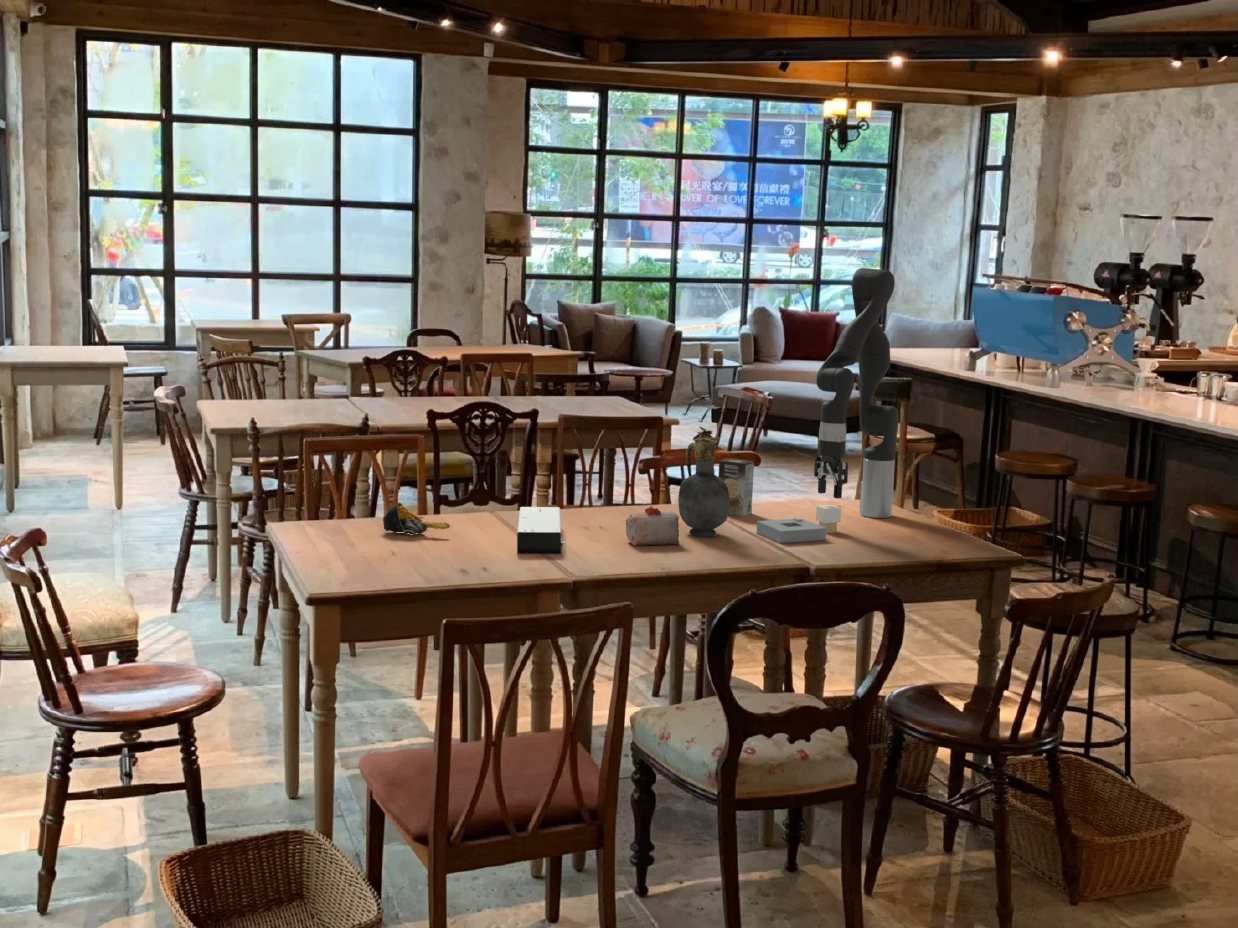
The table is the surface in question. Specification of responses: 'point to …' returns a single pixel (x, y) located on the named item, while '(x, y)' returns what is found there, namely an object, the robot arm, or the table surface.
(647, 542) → the food item
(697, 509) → the pitcher
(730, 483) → the coffee box
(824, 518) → the plug
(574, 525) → the table surface
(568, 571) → the table surface
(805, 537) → the socket plate
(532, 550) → the laminator
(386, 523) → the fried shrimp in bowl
